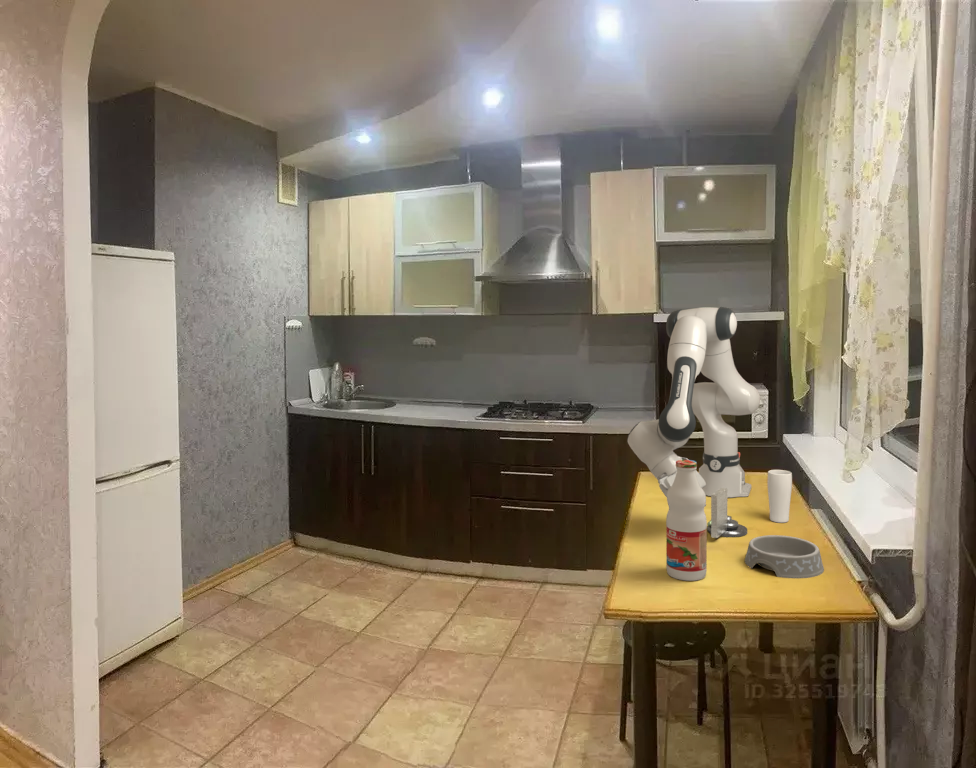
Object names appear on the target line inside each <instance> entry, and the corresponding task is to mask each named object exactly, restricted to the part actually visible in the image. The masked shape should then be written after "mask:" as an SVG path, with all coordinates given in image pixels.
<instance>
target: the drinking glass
mask: <svg viewBox="0 0 976 768" xmlns="http://www.w3.org/2000/svg"><path fill="white" fill-rule="evenodd" d="M792 489H793V473H792V472H791V471H790V470H785V469H784V470H783V469H771V470H768V471H767V494H768V506H769V507H768V508H769V519H770V521H771V522H774V523H777V524H778V523H779V524H784V523H788V522H789V519H790V509H791V506H790V505H791V498H792Z"/></svg>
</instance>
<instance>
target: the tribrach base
mask: <svg viewBox="0 0 976 768" xmlns="http://www.w3.org/2000/svg"><path fill="white" fill-rule="evenodd" d="M707 532H708V533H709V534H711V519H710V520H709V521H708V522H707ZM747 534H748V528H747V526H745V525H742V524H739V523H738V529H735V530H726V531H725V532H724V533H723V534H721V535H720V536H719V537H723V538H725V537H726V538H740V537H745V536H747Z"/></svg>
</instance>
